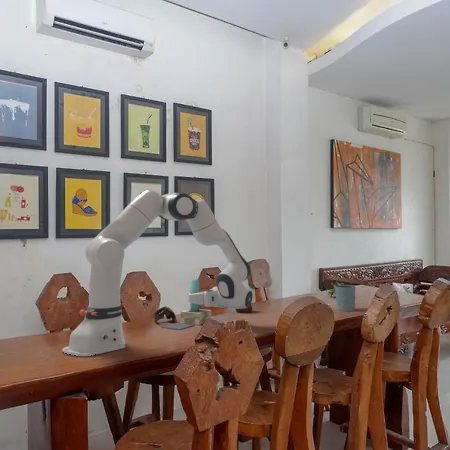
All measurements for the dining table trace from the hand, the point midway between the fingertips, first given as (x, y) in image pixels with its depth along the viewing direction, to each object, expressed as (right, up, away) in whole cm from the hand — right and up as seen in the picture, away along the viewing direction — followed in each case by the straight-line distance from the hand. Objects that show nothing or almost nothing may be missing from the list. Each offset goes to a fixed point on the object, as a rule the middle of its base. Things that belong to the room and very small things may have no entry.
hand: (193, 295), depth 205 cm
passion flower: (+82, -12, +64) cm, 104 cm away
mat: (-6, -12, -11) cm, 17 cm away
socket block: (+2, -12, -1) cm, 12 cm away
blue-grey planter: (+75, -11, +23) cm, 79 cm away
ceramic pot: (+24, -13, +23) cm, 35 cm away
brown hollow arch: (-12, -13, 0) cm, 18 cm away
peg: (+1, -11, -1) cm, 11 cm away
